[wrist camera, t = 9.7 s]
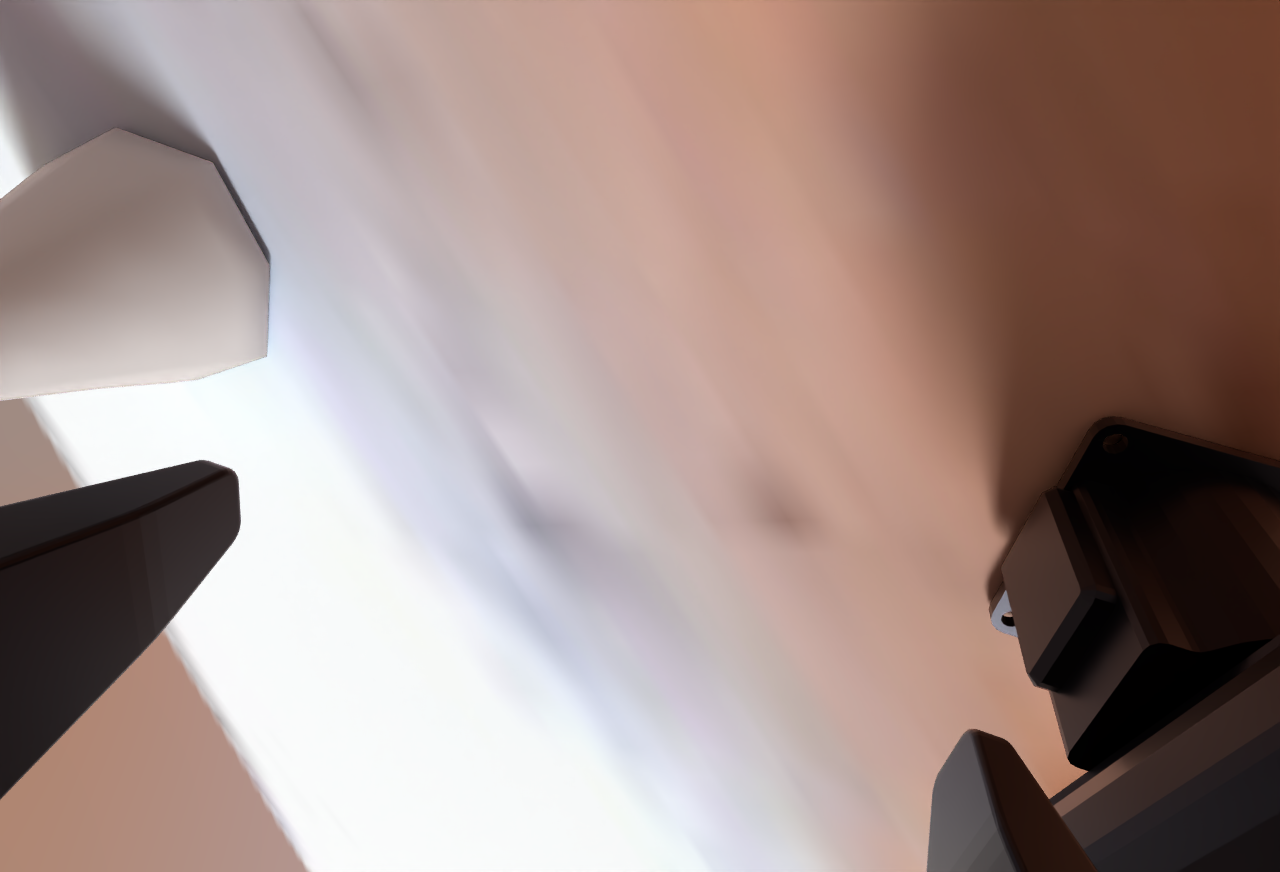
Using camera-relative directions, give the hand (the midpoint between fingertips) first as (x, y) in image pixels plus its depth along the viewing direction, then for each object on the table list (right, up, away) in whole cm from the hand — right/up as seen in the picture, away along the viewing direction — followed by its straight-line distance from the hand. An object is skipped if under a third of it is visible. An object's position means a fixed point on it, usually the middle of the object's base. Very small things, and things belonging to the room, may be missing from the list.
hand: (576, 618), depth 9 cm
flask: (-13, +7, +14) cm, 20 cm away
